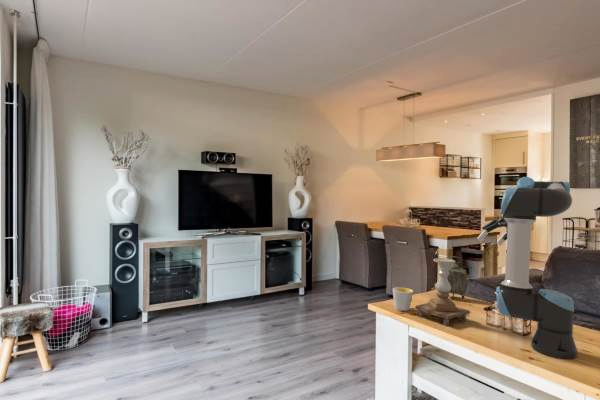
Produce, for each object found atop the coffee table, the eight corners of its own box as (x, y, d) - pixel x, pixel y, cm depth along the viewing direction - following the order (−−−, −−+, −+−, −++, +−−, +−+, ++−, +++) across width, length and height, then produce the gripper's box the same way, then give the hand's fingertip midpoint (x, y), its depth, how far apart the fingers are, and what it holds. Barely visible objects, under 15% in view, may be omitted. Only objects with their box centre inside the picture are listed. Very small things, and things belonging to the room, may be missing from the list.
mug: (402, 313, 190) (403, 293, 190) (387, 308, 199) (388, 288, 198) (420, 310, 197) (421, 290, 197) (405, 304, 206) (406, 285, 206)
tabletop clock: (466, 298, 224) (468, 256, 224) (466, 302, 216) (468, 258, 216) (440, 294, 230) (442, 254, 230) (439, 298, 222) (441, 256, 221)
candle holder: (457, 312, 180) (460, 262, 179) (434, 311, 180) (437, 261, 179) (449, 305, 190) (451, 258, 190) (427, 304, 191) (429, 257, 190)
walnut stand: (469, 320, 183) (469, 310, 183) (447, 327, 173) (447, 316, 173) (437, 310, 198) (437, 301, 198) (415, 315, 187) (415, 305, 187)
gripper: (538, 220, 184) (512, 250, 181) (499, 216, 208) (475, 243, 205) (530, 209, 183) (503, 239, 179) (491, 206, 207) (467, 233, 203)
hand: (488, 241), depth 192 cm, fingers open, 13 cm apart
